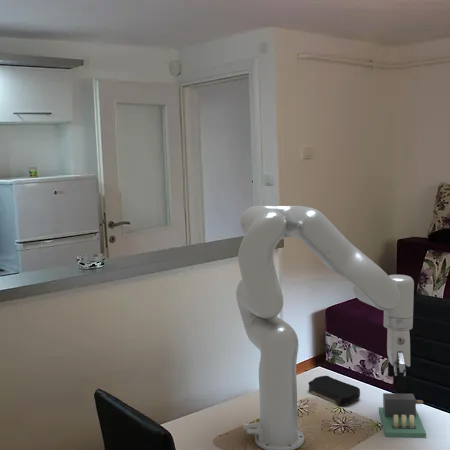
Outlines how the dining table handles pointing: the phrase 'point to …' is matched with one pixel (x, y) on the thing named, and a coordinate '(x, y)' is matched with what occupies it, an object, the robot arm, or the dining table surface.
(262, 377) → the robot arm
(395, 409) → the plug housing
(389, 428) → the header board
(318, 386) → the black sponge
